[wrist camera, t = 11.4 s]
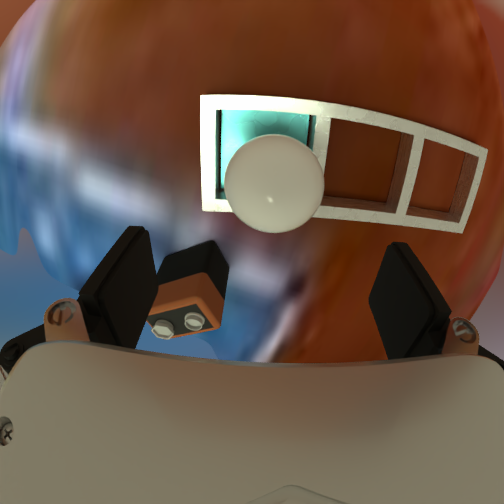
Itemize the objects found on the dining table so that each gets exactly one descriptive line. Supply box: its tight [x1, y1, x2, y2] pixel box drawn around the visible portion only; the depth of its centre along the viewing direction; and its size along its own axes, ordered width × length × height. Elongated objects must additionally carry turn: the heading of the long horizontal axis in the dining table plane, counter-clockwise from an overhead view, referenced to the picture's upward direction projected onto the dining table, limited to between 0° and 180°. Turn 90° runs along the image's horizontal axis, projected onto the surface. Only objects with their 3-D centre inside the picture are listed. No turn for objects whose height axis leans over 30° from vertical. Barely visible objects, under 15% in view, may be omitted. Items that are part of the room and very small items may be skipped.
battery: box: [146, 241, 229, 339], centre depth 27 cm, size 4×7×10 cm, turn 113°
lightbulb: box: [224, 134, 324, 233], centre depth 19 cm, size 6×6×11 cm
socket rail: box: [201, 94, 488, 233], centre depth 23 cm, size 10×29×2 cm, turn 88°
